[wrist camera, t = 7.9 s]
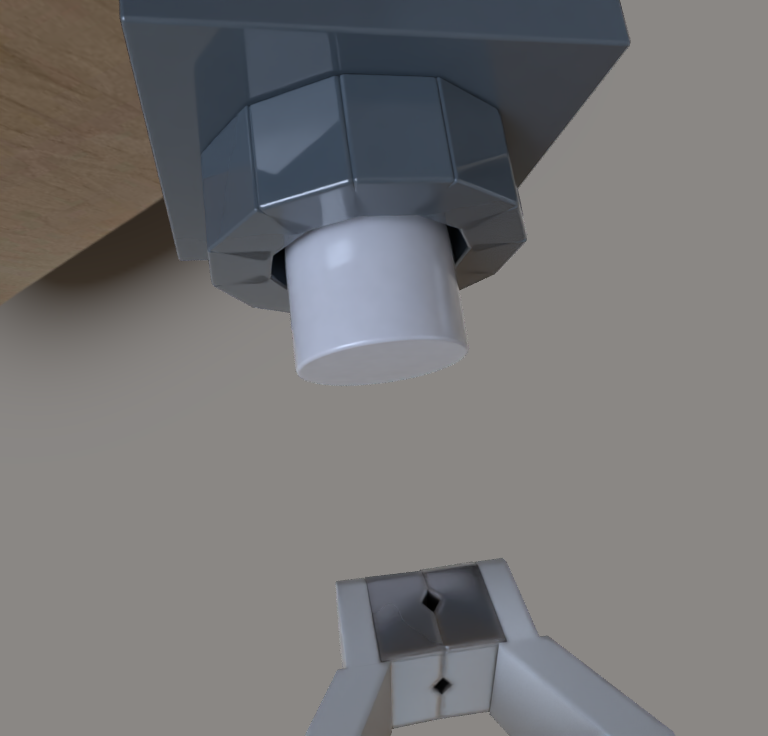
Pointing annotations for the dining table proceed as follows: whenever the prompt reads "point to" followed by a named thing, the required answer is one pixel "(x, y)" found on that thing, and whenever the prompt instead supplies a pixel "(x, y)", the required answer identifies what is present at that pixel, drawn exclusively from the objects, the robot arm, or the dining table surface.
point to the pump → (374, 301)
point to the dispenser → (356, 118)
